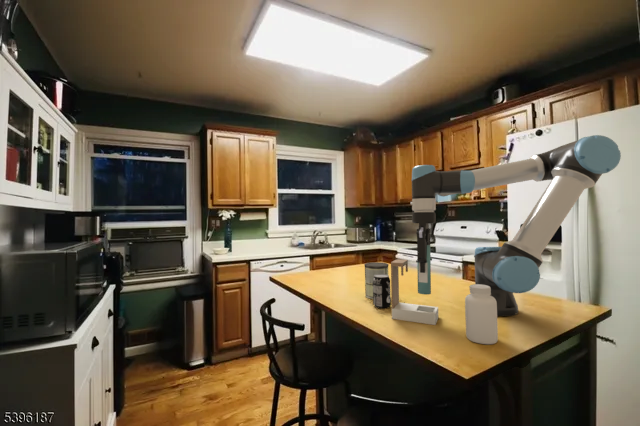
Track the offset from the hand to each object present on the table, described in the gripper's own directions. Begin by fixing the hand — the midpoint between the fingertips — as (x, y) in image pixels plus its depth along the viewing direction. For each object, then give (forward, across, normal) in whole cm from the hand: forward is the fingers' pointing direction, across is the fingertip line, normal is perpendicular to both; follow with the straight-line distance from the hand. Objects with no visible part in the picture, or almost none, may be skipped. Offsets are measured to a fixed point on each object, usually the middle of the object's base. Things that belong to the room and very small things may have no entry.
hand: (424, 280), depth 102 cm
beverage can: (+13, -8, -17) cm, 23 cm away
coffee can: (+13, -21, -23) cm, 34 cm away
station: (+13, 0, -3) cm, 14 cm away
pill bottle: (+13, +10, +17) cm, 24 cm away
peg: (+4, 0, 0) cm, 4 cm away
